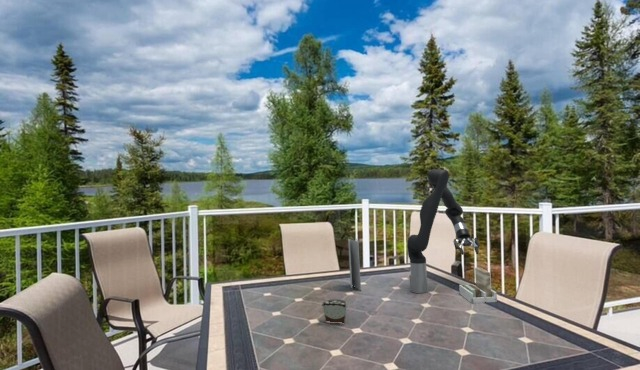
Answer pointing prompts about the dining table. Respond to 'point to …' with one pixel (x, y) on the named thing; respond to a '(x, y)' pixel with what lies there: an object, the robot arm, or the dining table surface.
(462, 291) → the rack
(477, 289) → the grey green block
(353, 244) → the dark grey tall slab
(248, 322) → the dining table surface
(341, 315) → the food container
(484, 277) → the grey green board
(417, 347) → the dining table surface
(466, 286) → the sage offcut board
